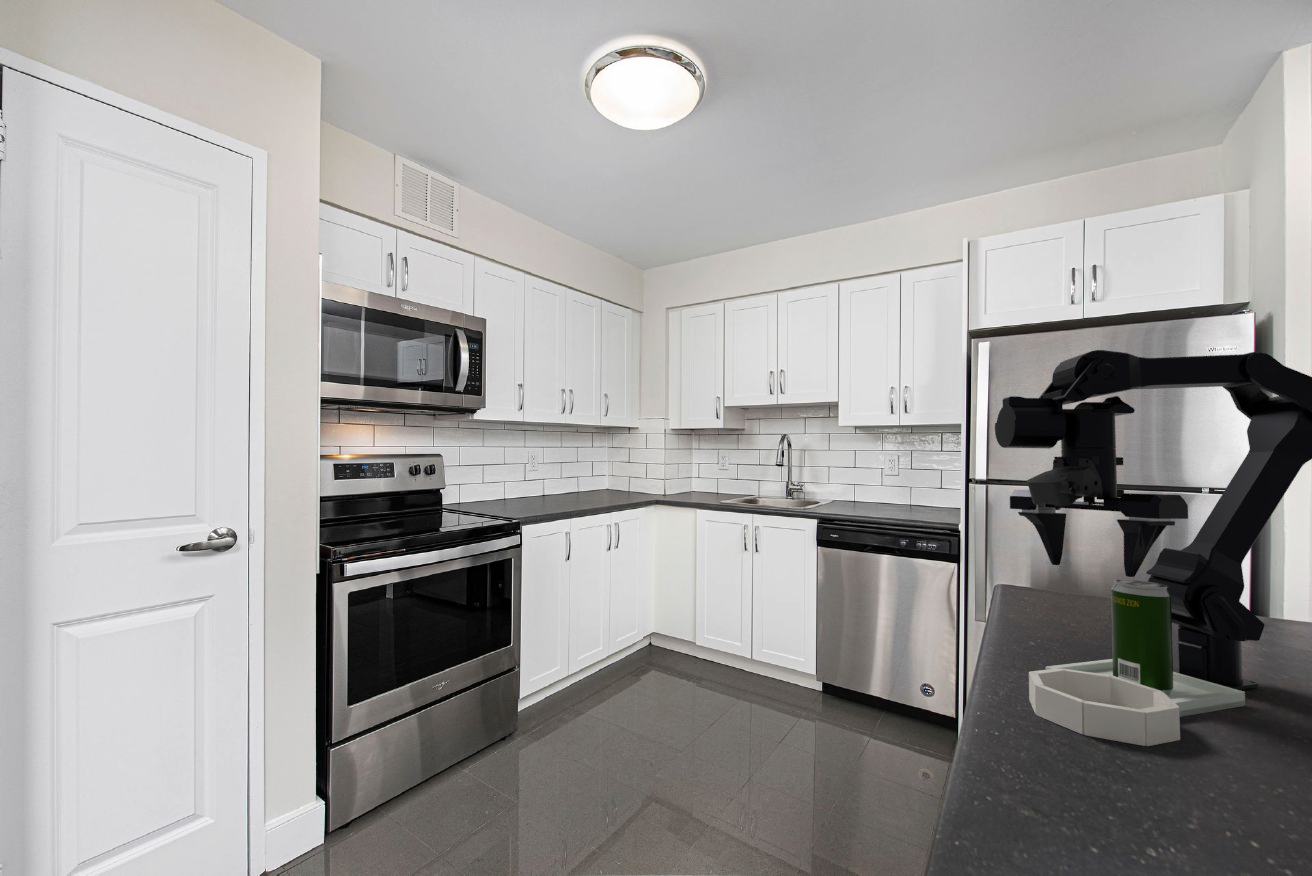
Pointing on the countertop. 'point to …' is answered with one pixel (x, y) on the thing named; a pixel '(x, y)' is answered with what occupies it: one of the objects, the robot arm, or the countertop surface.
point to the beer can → (1142, 633)
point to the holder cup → (1104, 706)
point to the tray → (1178, 689)
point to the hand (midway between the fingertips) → (1090, 570)
